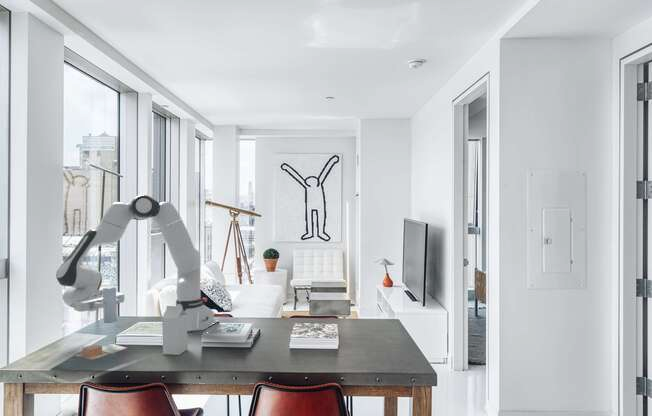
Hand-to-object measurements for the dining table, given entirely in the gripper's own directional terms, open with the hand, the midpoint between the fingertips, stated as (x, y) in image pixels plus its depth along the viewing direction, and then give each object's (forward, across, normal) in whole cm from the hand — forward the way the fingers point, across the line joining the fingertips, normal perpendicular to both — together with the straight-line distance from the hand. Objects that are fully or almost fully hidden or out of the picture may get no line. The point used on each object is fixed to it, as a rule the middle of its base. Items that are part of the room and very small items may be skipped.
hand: (111, 303), depth 187 cm
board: (-1, -4, +20) cm, 20 cm away
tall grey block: (-1, 0, +8) cm, 8 cm away
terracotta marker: (-1, -8, +19) cm, 21 cm away
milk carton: (+24, +12, +20) cm, 34 cm away
